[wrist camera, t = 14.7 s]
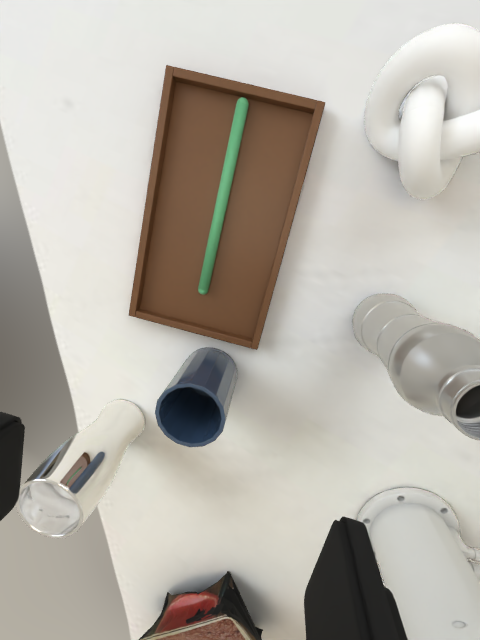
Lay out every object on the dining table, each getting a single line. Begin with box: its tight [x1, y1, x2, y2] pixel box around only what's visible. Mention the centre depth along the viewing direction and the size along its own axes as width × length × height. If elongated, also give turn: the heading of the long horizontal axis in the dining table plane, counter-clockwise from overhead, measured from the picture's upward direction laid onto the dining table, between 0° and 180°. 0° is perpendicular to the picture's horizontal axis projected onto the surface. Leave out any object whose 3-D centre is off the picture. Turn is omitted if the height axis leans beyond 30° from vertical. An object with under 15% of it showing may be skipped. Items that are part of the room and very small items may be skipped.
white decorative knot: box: [364, 23, 480, 200], centre depth 27 cm, size 11×12×9 cm
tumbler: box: [155, 348, 237, 447], centre depth 36 cm, size 7×7×10 cm
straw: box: [198, 97, 249, 295], centre depth 34 cm, size 10×1×18 cm
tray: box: [129, 65, 325, 350], centre depth 35 cm, size 16×26×2 cm, turn 166°
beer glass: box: [16, 399, 145, 538], centre depth 37 cm, size 7×7×15 cm
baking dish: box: [139, 572, 263, 640], centre depth 47 cm, size 14×18×10 cm
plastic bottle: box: [352, 294, 480, 440], centre depth 27 cm, size 6×7×20 cm
